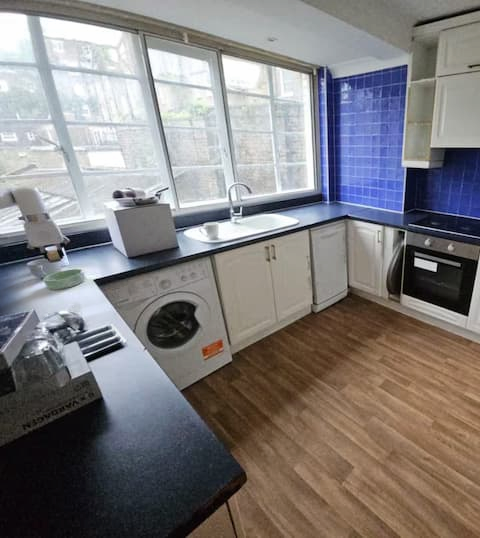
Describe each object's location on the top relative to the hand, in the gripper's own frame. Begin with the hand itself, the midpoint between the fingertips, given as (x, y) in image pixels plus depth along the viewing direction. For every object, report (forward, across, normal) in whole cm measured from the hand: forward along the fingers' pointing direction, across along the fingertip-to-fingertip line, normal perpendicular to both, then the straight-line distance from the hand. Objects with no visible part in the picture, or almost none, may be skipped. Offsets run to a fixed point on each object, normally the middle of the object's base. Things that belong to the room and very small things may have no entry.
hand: (55, 258), depth 129 cm
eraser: (+1, 0, 0) cm, 1 cm away
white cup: (+13, -5, +35) cm, 37 cm away
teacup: (+13, -8, +18) cm, 23 cm away
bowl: (+13, 0, +1) cm, 13 cm away
